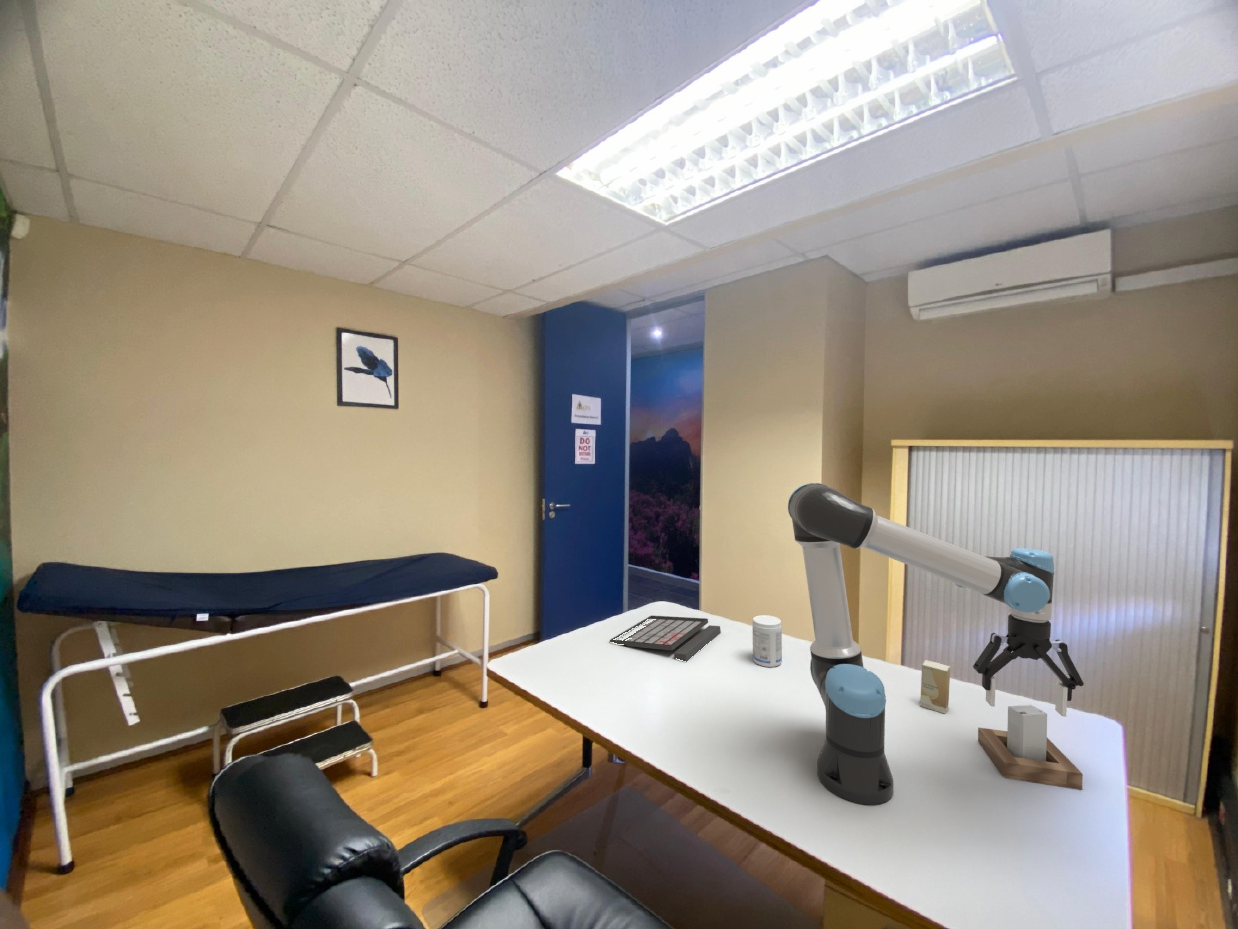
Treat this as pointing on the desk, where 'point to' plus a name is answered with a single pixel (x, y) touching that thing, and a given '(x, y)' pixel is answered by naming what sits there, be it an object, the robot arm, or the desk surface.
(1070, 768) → the socket block
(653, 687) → the desk surface
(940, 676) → the skincare box
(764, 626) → the supplement tub
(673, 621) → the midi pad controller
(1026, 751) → the skincare box
